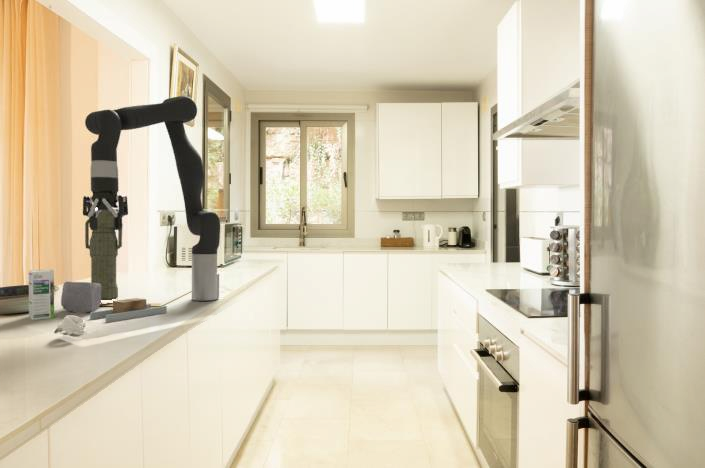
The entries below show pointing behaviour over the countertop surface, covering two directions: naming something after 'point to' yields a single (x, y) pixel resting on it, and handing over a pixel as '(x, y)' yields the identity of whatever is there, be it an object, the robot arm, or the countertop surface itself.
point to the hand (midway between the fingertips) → (105, 229)
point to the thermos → (104, 253)
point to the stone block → (81, 296)
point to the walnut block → (128, 305)
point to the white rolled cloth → (72, 325)
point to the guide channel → (127, 313)
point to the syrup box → (41, 294)
